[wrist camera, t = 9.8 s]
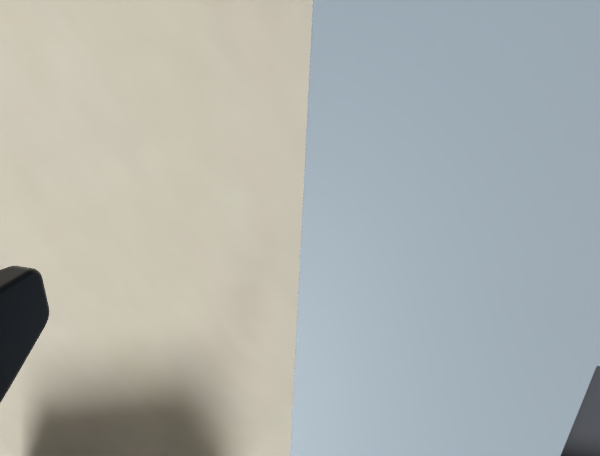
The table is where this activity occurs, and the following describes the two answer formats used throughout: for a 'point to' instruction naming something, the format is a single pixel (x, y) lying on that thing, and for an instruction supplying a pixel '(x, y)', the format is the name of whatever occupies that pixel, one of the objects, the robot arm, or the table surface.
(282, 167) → the table surface
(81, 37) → the table surface
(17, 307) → the robot arm
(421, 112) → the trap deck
